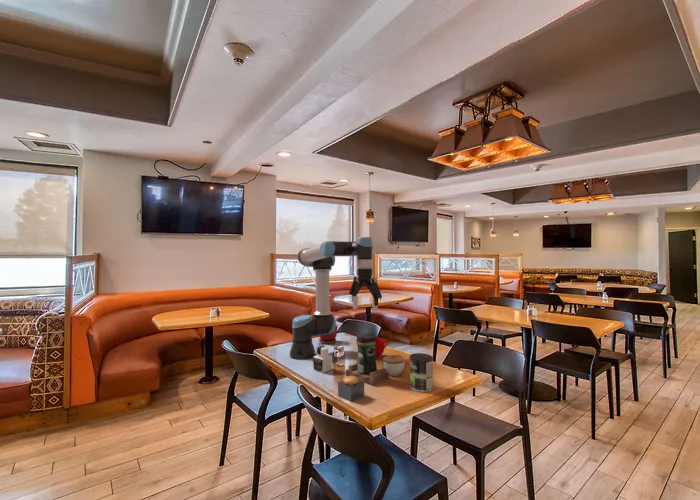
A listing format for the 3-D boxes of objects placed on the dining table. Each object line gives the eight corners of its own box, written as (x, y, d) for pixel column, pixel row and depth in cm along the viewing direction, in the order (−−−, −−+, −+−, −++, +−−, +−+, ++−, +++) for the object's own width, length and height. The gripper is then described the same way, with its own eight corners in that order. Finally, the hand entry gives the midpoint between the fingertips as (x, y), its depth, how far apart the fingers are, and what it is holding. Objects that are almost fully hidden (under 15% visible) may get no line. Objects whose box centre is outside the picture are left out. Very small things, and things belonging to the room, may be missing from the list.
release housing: (338, 396, 144) (337, 382, 144) (351, 390, 150) (351, 377, 150) (350, 401, 139) (350, 387, 139) (364, 396, 144) (364, 382, 144)
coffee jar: (369, 367, 172) (368, 330, 172) (379, 371, 165) (378, 333, 165) (353, 371, 166) (353, 333, 166) (363, 375, 159) (363, 336, 160)
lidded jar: (392, 368, 178) (392, 350, 178) (408, 373, 170) (408, 355, 171) (379, 373, 171) (378, 355, 171) (395, 379, 163) (395, 359, 163)
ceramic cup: (394, 356, 198) (394, 339, 199) (372, 362, 189) (372, 344, 189) (380, 351, 209) (380, 335, 209) (358, 356, 200) (358, 339, 200)
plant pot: (340, 343, 229) (340, 325, 229) (323, 345, 223) (323, 327, 223) (332, 338, 240) (332, 322, 241) (315, 341, 234) (315, 324, 234)
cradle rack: (345, 375, 168) (345, 365, 168) (362, 369, 176) (362, 360, 176) (372, 385, 155) (372, 375, 155) (389, 379, 163) (388, 368, 163)
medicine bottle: (313, 370, 177) (313, 347, 177) (323, 366, 182) (323, 344, 182) (322, 373, 172) (322, 349, 172) (332, 369, 177) (332, 346, 177)
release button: (340, 395, 144) (340, 378, 144) (351, 391, 149) (351, 375, 149) (350, 400, 140) (350, 382, 140) (361, 395, 144) (361, 378, 144)
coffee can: (415, 393, 146) (415, 360, 147) (406, 384, 157) (406, 354, 157) (437, 390, 149) (436, 358, 149) (426, 382, 159) (426, 352, 159)
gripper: (342, 267, 174) (342, 308, 174) (378, 269, 156) (378, 314, 156) (352, 266, 179) (352, 306, 179) (388, 268, 161) (389, 312, 161)
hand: (364, 310), depth 168 cm, fingers open, 13 cm apart
